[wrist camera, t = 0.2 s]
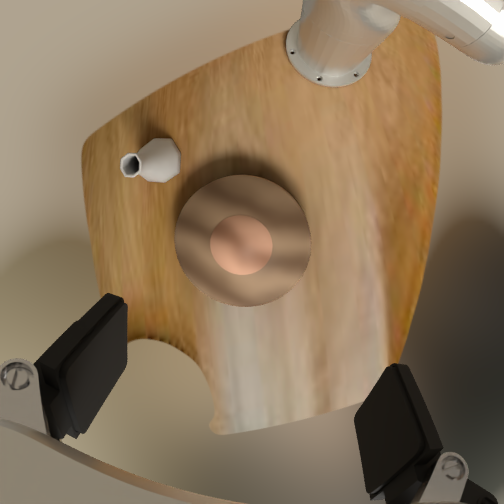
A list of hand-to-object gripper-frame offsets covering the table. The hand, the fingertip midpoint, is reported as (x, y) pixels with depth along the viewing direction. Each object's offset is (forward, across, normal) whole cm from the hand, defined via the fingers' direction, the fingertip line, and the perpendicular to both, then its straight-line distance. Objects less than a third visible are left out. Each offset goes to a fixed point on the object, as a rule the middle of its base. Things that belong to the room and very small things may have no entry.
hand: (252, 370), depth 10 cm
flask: (+36, +18, -2) cm, 41 cm away
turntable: (+35, +3, +8) cm, 36 cm away
